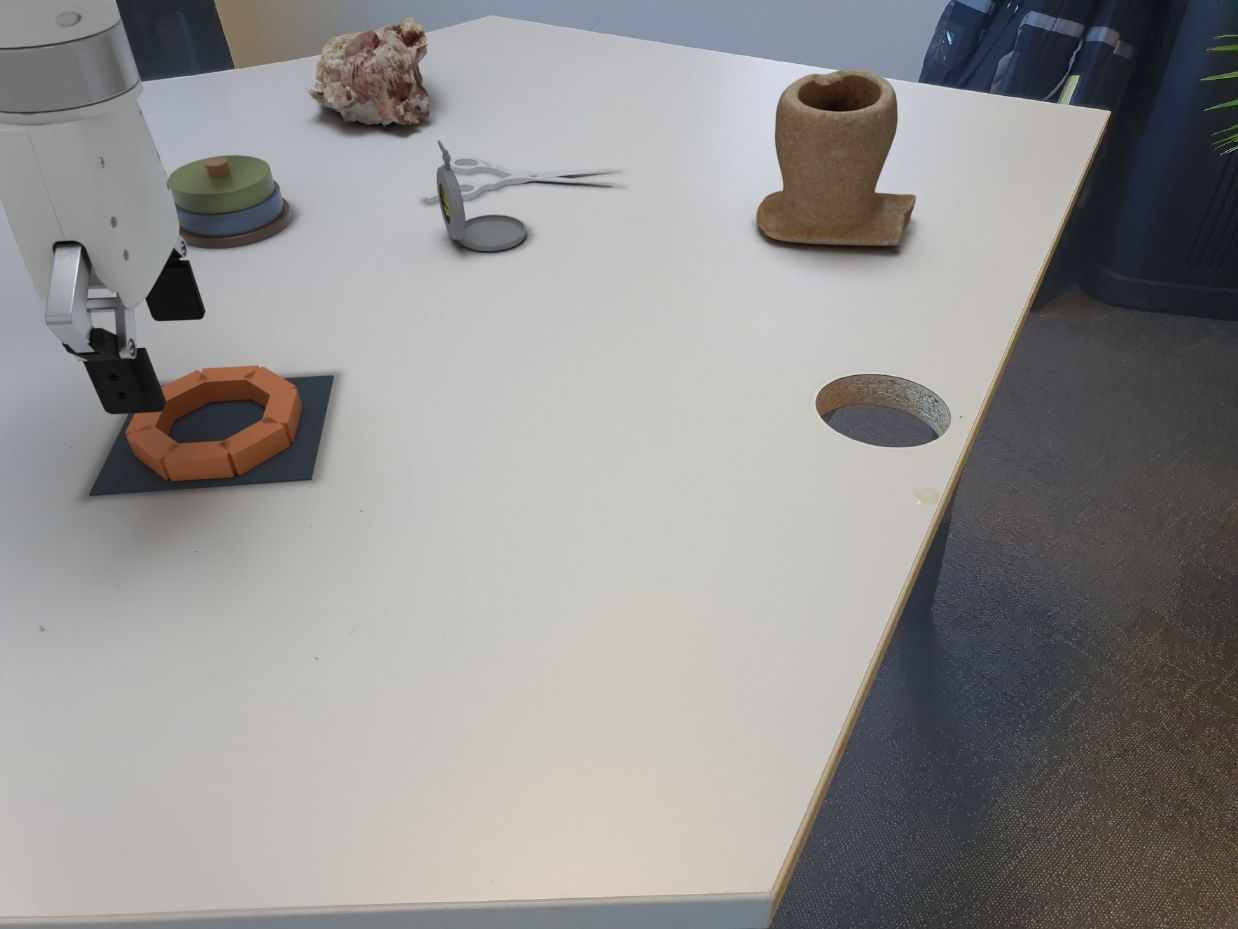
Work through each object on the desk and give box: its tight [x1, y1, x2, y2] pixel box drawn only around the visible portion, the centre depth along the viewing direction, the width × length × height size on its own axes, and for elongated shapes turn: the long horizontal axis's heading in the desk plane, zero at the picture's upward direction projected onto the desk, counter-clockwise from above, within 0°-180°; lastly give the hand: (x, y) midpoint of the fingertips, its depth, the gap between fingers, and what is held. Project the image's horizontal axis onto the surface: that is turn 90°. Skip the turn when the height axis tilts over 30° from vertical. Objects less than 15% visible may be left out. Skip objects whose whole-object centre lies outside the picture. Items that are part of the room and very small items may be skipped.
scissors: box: [426, 156, 618, 204], centre depth 96 cm, size 11×1×20 cm
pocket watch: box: [436, 139, 527, 252], centre depth 83 cm, size 8×8×10 cm
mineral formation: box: [305, 17, 431, 128], centre depth 111 cm, size 23×16×10 cm
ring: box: [125, 364, 303, 481], centre depth 63 cm, size 11×11×2 cm
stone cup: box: [755, 68, 917, 247], centre depth 82 cm, size 15×12×15 cm
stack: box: [168, 154, 293, 250], centre depth 87 cm, size 11×11×6 cm
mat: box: [88, 374, 335, 497], centre depth 63 cm, size 14×12×1 cm
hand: (160, 361), depth 55 cm, fingers open, 9 cm apart
